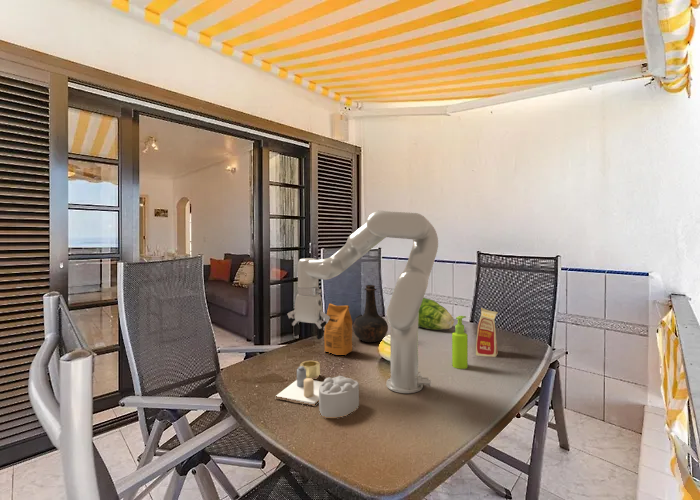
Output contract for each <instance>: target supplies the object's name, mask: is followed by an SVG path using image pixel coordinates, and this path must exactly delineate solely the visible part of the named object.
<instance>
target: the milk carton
mask: <svg viewBox="0 0 700 500" xmlns="http://www.w3.org/2000/svg"><path fill="white" fill-rule="evenodd" d="M480 312H481V314H480V318H479V320H478V321H479V322H478V324H477V333H476V338H475V339H476V340H475V356H479V357H480V356H481V357H492V358H496V357H497V355H498V354H499V351H498V341H497V335H496V334H497V333H496V323H495V318H496V316H497V314H498V313H499V312H498V311H493V310H489V309H487V308H486V309H485V308H483V307H480Z"/></svg>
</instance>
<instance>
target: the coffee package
mask: <svg viewBox="0 0 700 500" xmlns="http://www.w3.org/2000/svg"><path fill="white" fill-rule="evenodd" d="M326 314H327V315H328V316H330V319H329V321H328V323H327V324H326V325H325V326H324V329H323V341H324V346H323V347H324V352H325V351H326V352H329V353H328V354H330V353H332V354H336V355H345V356H346V355H347V354H349V353H351V352H352V351H353V340H352V339H353V319H352V316H351V313H350V306H349V305H335V304H333V303H329V304H328V307H327V312H326ZM332 354H331V355H332Z"/></svg>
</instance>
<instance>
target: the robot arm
mask: <svg viewBox="0 0 700 500" xmlns="http://www.w3.org/2000/svg"><path fill="white" fill-rule="evenodd" d="M437 233H438V232H437V231H436V228H435V227H434V226H433V224H432V223H431V222H430V221H429V220H428V219H427V218H426V217H425V216H424V215H422V214H420V213H417V212H408V211H407V212H404V211H403V212H402V211H388V210H387V211H386V210H376V211H373V212H372V213H370V215H369V216H368V217H367V220H366V222H365V223H364V224H362V225H361V226H360V227H359V228H357V230H354V232H352V233H351V234H349V236H348V237H347V238H346V239H347V240H346V243H345V244H344V245H343V246H342V247H341V248H340V249H338V250H337V251H336V252H335V253H334V254H333V255H331V256H330V257H327V258H323V259H317V258H314V257H313V258H312V257H306V258H305V257H303V258H300V259H298V262H297V294H296V296H295V301H294V309H293V310H292V311H289V312H288V313H286V314H287V316H288V319H289V322H290V323H291V326H293V328H292V329H293V336H294V337H297V336H299V335H300V332H301V330H300V327H301V326H300V324H299V323H300V322H301V323H307V324H308V323H309V324H315V325H316V326H317V329H316V339H317V340H320V339H322V338H324V328H325V325H326V324H327V323H328V321H329V319H330V316H328V315H327V313H326V312H324V311H323V302H322V301H323V300H322V296H321V293H322V289H321V288H320V287H319V280H323V281H324V280H330V279H333V278H335V277H337V276H339V275H340V274H342V273H343V272H345V271H346V270H347V269H348V268H350V267H351V266H352V265H353V264H355V263H356V262H357V261H358V260H359V259H361V258H362V257H363V256H365V255H366V254H367V253H368V252H370V250H372V249H373V248H375V247H376V246H377V245H378V244H380V243H381V242H382V241H383V240H385V239H386V238H392V239H404V240H405V239H406V240H412V248H411V250H410V253H409V257H408V259H407V262H406V265H405V268H404V270H403V271H402V272H401V273H400V275H399V276H398V278H397V281H396V283H395V286H394V288H393V292H392V294H391V295H392V296H391V298H390V300H389V303H388V307H387V310H386V319H387V323H389V325H390V378H388V379H387V380H386V382H385V383H386V387H387V388H388V389H389V390H390V391H393V392H396V393H398V394H414V393H418V392H420V391H421V390H423V387H424V386H430V387H431V385H432V380H431V379H430V378H429V377H428V376H423V375H421V371H419V326H418V317H419V309H420V306H421V303H422V301H423V298H425V295H426V292H427V289H428V285H429V280H430V279H429V278H430V275H431V273H432V270H433V267H434V262H435V260H436V257H437V252H438V250H439V237H438V234H437ZM293 315H294V316H293Z"/></svg>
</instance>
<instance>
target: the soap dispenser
mask: <svg viewBox="0 0 700 500" xmlns="http://www.w3.org/2000/svg"><path fill="white" fill-rule="evenodd" d="M464 318H465V319H466V318H467V316H466V315H458V316H456V317H455V319H456V320H457V323H456V324H455V326H454V327H455V329H454V332H452V334H451V341H452V342H451V348H452V349H451V353H452V354H451V363H452V365H451V366H452V367H453V368H454V369H457V370H465V369H467V368H468V367H469V366H468V365H469V364H468V362H469V361H468V356H469V355H468V351H469V350H468V347H469V346H468V342H469V341H468V333H466V332H465V325H464V324H463V319H464Z"/></svg>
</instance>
